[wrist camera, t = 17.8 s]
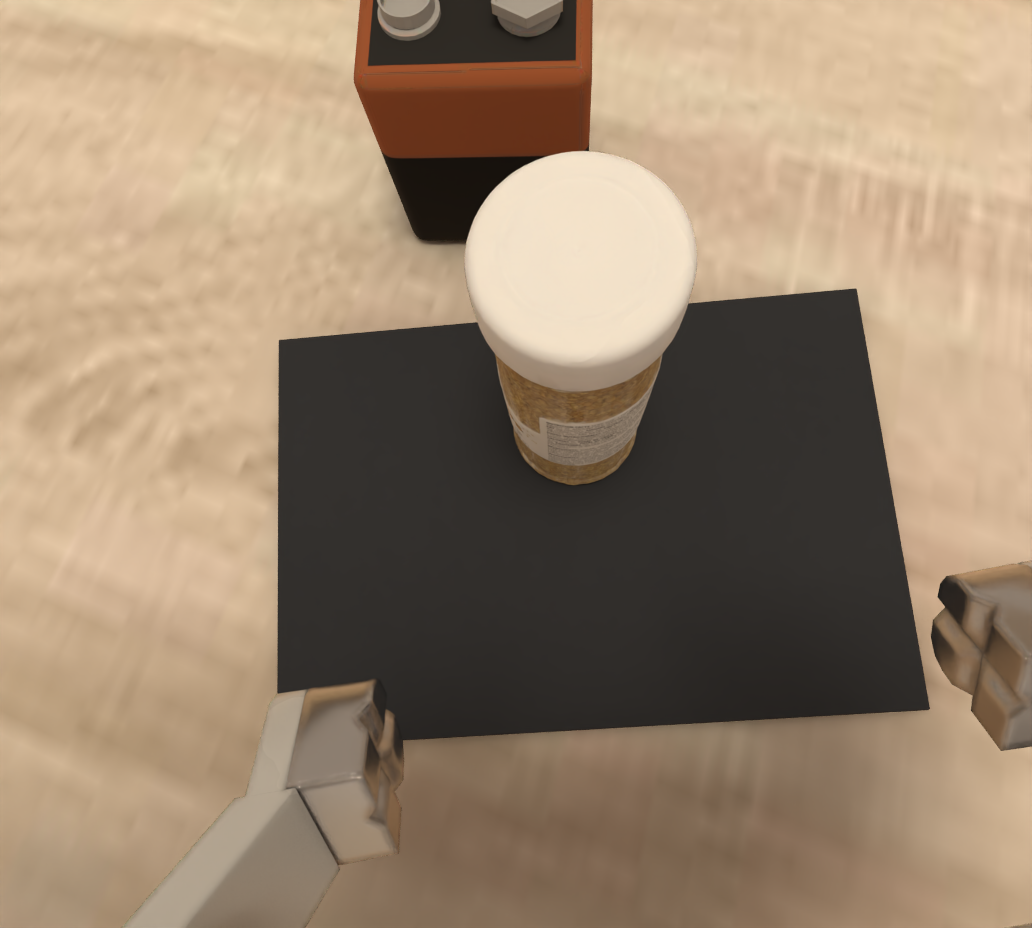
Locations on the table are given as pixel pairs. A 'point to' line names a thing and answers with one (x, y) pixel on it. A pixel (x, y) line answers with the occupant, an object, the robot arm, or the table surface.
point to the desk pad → (596, 534)
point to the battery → (471, 96)
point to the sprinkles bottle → (579, 303)
